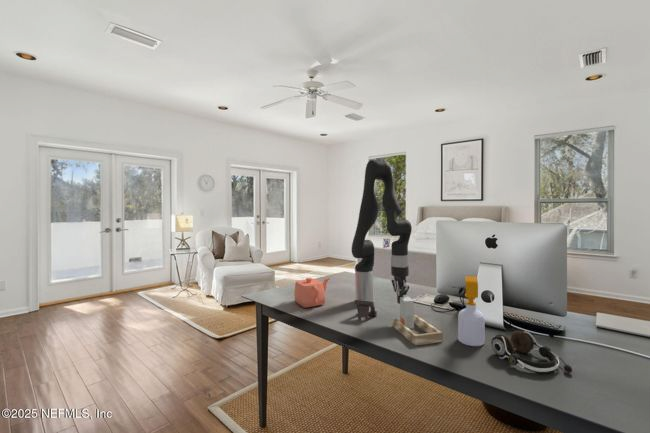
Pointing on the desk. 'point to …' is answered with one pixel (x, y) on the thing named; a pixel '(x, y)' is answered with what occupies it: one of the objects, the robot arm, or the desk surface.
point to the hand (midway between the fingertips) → (400, 303)
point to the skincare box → (407, 312)
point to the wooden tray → (419, 339)
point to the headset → (525, 345)
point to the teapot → (310, 292)
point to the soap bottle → (471, 317)
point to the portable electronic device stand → (365, 309)
